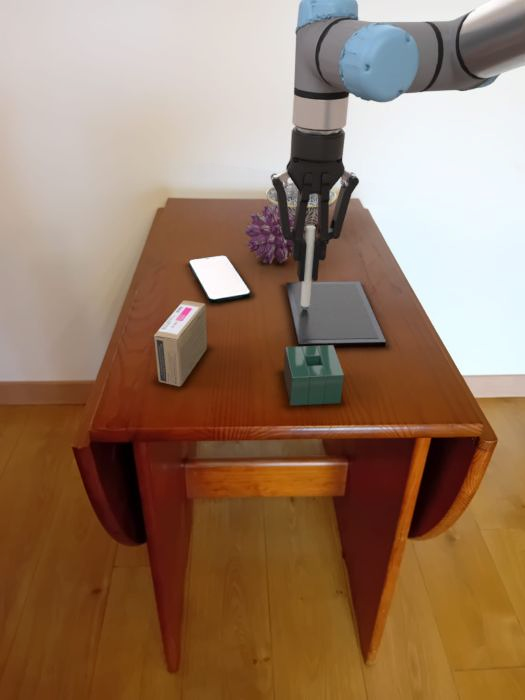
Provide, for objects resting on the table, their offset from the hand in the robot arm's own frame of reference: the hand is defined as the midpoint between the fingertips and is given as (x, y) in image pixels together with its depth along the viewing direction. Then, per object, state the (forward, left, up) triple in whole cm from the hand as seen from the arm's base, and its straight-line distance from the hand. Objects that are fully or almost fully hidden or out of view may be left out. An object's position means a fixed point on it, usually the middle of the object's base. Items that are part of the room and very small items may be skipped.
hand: (307, 276), depth 89 cm
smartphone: (+19, +4, -7) cm, 21 cm away
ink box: (+1, +24, -8) cm, 25 cm away
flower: (+19, -10, -8) cm, 23 cm away
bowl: (+29, -27, -8) cm, 40 cm away
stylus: (0, 0, -6) cm, 6 cm away
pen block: (-15, +13, -7) cm, 21 cm away
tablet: (-3, -4, -7) cm, 9 cm away
